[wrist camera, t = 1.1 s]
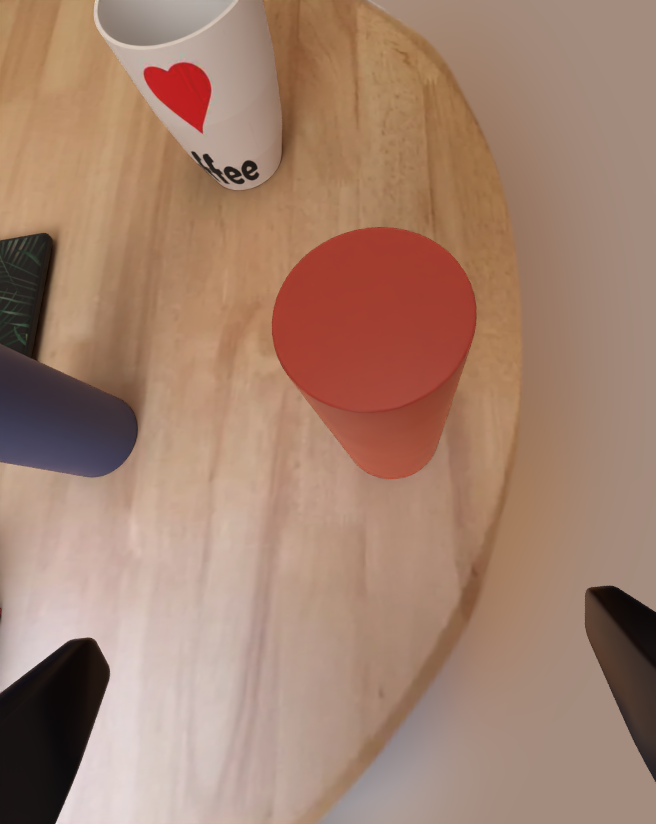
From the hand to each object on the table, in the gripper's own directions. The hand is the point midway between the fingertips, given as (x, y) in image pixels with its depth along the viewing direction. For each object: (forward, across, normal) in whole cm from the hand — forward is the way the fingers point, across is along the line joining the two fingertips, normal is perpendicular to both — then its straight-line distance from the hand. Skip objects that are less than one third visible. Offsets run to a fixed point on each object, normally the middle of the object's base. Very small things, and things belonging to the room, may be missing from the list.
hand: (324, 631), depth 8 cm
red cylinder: (+15, -2, +3) cm, 16 cm away
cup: (+28, +5, -13) cm, 31 cm away
